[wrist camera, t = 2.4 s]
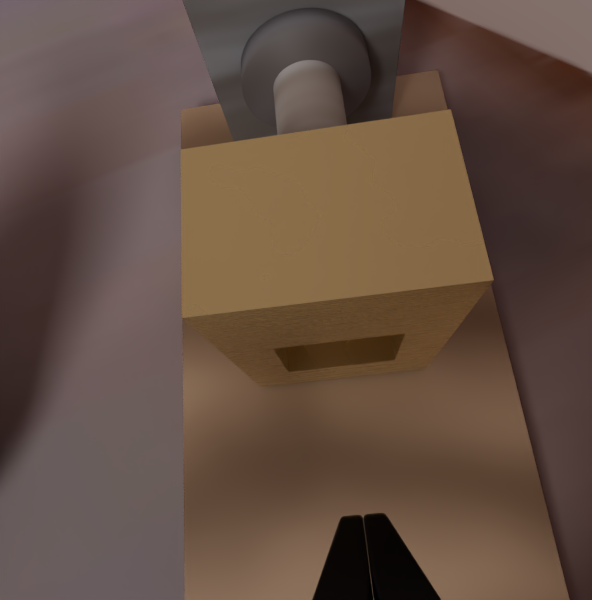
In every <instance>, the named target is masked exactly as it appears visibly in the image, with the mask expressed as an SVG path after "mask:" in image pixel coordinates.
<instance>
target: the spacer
mask: <svg viewBox="0 0 592 600" xmlns="http://www.w3.org/2000/svg"><path fill="white" fill-rule="evenodd" d="M181 252H182V319H184V320H185V321H186V322H187V323H188V324H189V325H190V326H192V327H193V328H194V329H195V330H196V331H197V332H198V333H200V334H201V335H202V336H203V337H204V338H205V339H206V340H208V341H209V342H210V343H211V344H212V345H213V346H214V347H216V348H217V349H218V350H219V351H220V352H221V353H222V354H224V355H225V356H226V357H227V358H228V359H229V360H230V361H232V362H233V363H234V364H235V365H236V366H237V367H238V368H240V369H241V370H242V371H243V372H244V373H245V374H246V375H248V376H249V377H250V378H251V379H252V380H253V381H254V382H255V383H257V384H258V385H259V386H260V387H267V386H276V385H285V384H295V383H304V382H313V381H322V380H331V379H340V378H349V377H359V376H368V375H377V374H386V373H395V372H404V371H413V370H423V369H427V367H428V366H429V365H430V363H431V362H432V361H433V359H434V358H435V357H436V355H437V354H438V353H439V351H440V350H441V349H442V348H443V346H444V345H445V344H446V342H447V341H448V340H449V338H450V337H451V336H452V334H453V333H454V332H455V330H456V329H457V328H458V327H459V325H460V324H461V323H462V321H463V320H464V319H465V317H466V316H467V315H468V313H469V312H470V311H471V309H472V308H473V307H474V306H475V304H476V303H477V302H478V300H479V299H480V298H481V296H482V295H483V294H484V292H485V291H486V290H487V288H488V287H489V286H490V285H491V283H492V282H493V281H494V278H493V274H492V271H491V267H490V263H489V259H488V255H487V251H486V247H485V243H484V239H483V235H482V231H481V227H480V223H479V219H478V215H477V211H476V207H475V203H474V199H473V195H472V191H471V187H470V183H469V179H468V175H467V171H466V167H465V163H464V159H463V155H462V151H461V147H460V143H459V139H458V135H457V131H456V128H455V124H454V120H453V116H452V112H451V109H449V110H443V111H436V112H429V113H423V114H416V115H409V116H402V117H396V118H389V119H382V120H376V121H369V122H362V123H355V124H349V125H342V126H335V127H329V128H322V129H315V130H308V131H302V132H295V133H288V134H282V135H275V136H268V137H261V138H255V139H248V140H241V141H235V142H228V143H221V144H214V145H208V146H201V147H194V148H188V149H181Z"/></svg>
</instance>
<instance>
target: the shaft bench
mask: <svg viewBox="0 0 592 600" xmlns="http://www.w3.org/2000/svg"><path fill="white" fill-rule="evenodd" d="M183 3H184V6H185V9H186V11H187V14H188V17H189V20H190V22H191V25H192V28H193V31H194V33H195V36H196V39H197V42H198V44H199V47H200V50H201V53H202V55H203V58H204V61H205V64H206V67H207V69H208V72H209V75H210V78H211V80H212V83H213V86H214V89H215V91H216V94H217V97H218V100H219V102H220V104H213V105H207V106H200V107H194V108H188V109H181V149H188V148H194V147H201V146H208V145H214V144H221V143H228V142H235V141H241V140H248V139H255V138H261V137H268V136H275V135H282V134H288V133H295V132H302V131H308V130H315V129H322V128H329V127H335V126H342V125H349V124H355V123H362V122H369V121H376V120H382V119H389V118H396V117H402V116H409V115H416V114H423V113H429V112H436V111H443V110H448V109H447V105H446V101H445V97H444V93H443V89H442V85H441V81H440V77H439V73H438V70H432V71H426V72H419V73H413V74H406V75H400V76H396V75H397V66H398V58H399V49H400V40H401V31H402V23H403V14H404V5H405V0H183ZM183 438H184V563H185V600H312V599H313V596H314V593H315V590H316V587H317V584H318V581H319V578H320V575H321V572H322V570H323V567H324V564H325V561H326V558H327V555H328V552H329V549H330V546H331V543H332V541H333V538H334V535H335V532H336V529H337V526H338V523H339V520H340V519H341V517H343V516H349V515H361V516H362V517H363V521H364V515H366V514H372V513H384V514H386V515H387V517H388V518H389V520H390V521H391V523H392V524H393V526H394V527H395V529H396V530H397V532H398V533H399V535H400V537H401V538H402V540H403V541H404V543H405V544H406V546H407V547H408V549H409V550H410V552H411V554H412V555H413V557H414V558H415V560H416V561H417V563H418V564H419V566H420V567H421V569H422V571H423V572H424V574H425V575H426V577H427V578H428V580H429V581H430V583H431V584H432V586H433V588H434V589H435V591H436V592H437V594H438V595H439V597H440V598H441V600H570V599H569V595H568V591H567V587H566V583H565V579H564V575H563V571H562V567H561V563H560V559H559V555H558V551H557V547H556V543H555V539H554V535H553V531H552V527H551V523H550V519H549V515H548V511H547V507H546V503H545V499H544V495H543V491H542V487H541V483H540V479H539V475H538V471H537V467H536V463H535V459H534V455H533V451H532V447H531V443H530V439H529V435H528V431H527V427H526V423H525V419H524V415H523V411H522V406H521V402H520V398H519V394H518V390H517V386H516V382H515V378H514V374H513V370H512V366H511V362H510V358H509V354H508V350H507V346H506V342H505V338H504V334H503V330H502V326H501V322H500V318H499V314H498V310H497V306H496V302H495V298H494V294H493V290H492V286H491V285H490V286H489V287H488V288H487V290H486V291H485V292H484V294H483V295H482V296H481V298H480V299H479V300H478V302H477V303H476V304H475V306H474V307H473V308H472V309H471V311H470V312H469V313H468V315H467V316H466V317H465V319H464V320H463V321H462V323H461V324H460V325H459V327H458V328H457V329H456V330H455V332H454V333H453V334H452V336H451V337H450V338H449V340H448V341H447V342H446V344H445V345H444V346H443V348H442V349H441V350H440V351H439V353H438V354H437V355H436V357H435V358H434V359H433V361H432V362H431V363H430V365H429V366H428V367H427V369H423V370H413V371H404V372H395V373H386V374H377V375H368V376H359V377H349V378H340V379H331V380H322V381H313V382H304V383H295V384H285V385H276V386H267V387H260V386H259V385H258V384H257V383H255V382H254V381H253V380H252V379H251V378H250V377H249V376H248V375H246V374H245V373H244V372H243V371H242V370H241V369H240V368H238V367H237V366H236V365H235V364H234V363H233V362H232V361H230V360H229V359H228V358H227V357H226V356H225V355H224V354H222V353H221V352H220V351H219V350H218V349H217V348H216V347H214V346H213V345H212V344H211V343H210V342H209V341H208V340H206V339H205V338H204V337H203V336H202V335H201V334H200V333H198V332H197V331H196V330H195V329H194V328H193V327H192V326H190V325H189V324H188V323H187V322H186V321H185V320H184V319H183ZM364 529H365V527H364ZM365 537H366V535H365ZM366 545H367V543H366ZM367 552H368V551H367ZM368 560H369V559H368ZM369 568H370V567H369ZM370 576H371V574H370ZM371 584H372V582H371ZM372 592H373V590H372ZM373 600H374V598H373Z"/></svg>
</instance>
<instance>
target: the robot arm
mask: <svg viewBox="0 0 592 600" xmlns="http://www.w3.org/2000/svg"><path fill="white" fill-rule="evenodd" d="M364 527H365V529H364ZM365 535H366V537H365ZM366 543H367V545H366ZM367 551H368V552H367ZM368 559H369V560H368ZM369 567H370V568H369ZM370 574H371V576H370ZM371 582H372V584H371ZM372 590H373V592H372ZM373 598H374V600H441V598H440V597H439V595H438V594H437V592H436V591H435V589H434V588H433V586H432V584H431V583H430V581H429V580H428V578H427V577H426V575H425V574H424V572H423V571H422V569H421V567H420V566H419V564H418V563H417V561H416V560H415V558H414V557H413V555H412V554H411V552H410V550H409V549H408V547H407V546H406V544H405V543H404V541H403V540H402V538H401V537H400V535H399V533H398V532H397V530H396V529H395V527H394V526H393V524H392V523H391V521H390V520H389V518H388V517H387V515H386V514H384V513H372V514H366V515H364V521H363V517H362V516H361V515H349V516H343V517H341V519H340V520H339V523H338V526H337V529H336V532H335V535H334V538H333V541H332V543H331V546H330V549H329V552H328V555H327V558H326V561H325V564H324V567H323V570H322V572H321V575H320V578H319V581H318V584H317V587H316V590H315V593H314V596H313V599H312V600H373Z"/></svg>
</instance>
